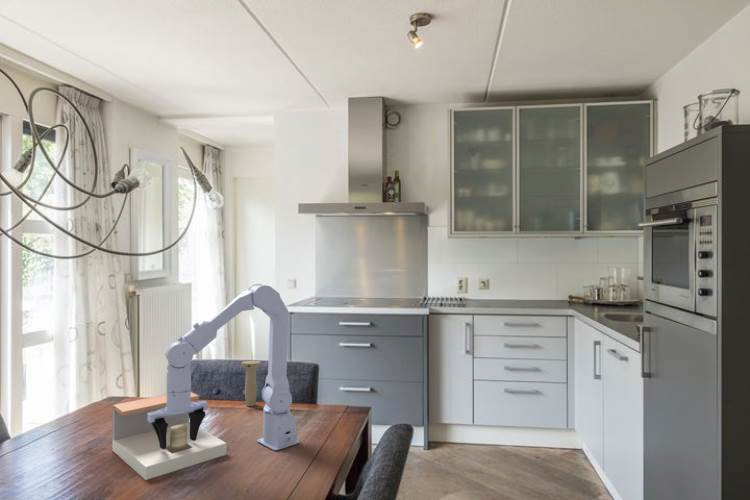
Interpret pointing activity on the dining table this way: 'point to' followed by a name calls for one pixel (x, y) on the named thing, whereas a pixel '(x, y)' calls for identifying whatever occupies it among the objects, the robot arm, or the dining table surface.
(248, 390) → the handle
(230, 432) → the dining table surface
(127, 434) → the station
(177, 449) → the peg
